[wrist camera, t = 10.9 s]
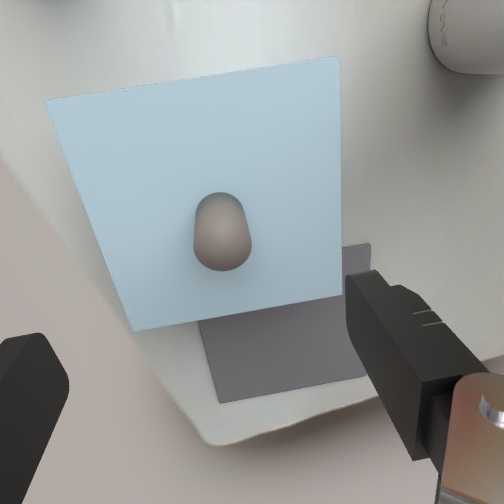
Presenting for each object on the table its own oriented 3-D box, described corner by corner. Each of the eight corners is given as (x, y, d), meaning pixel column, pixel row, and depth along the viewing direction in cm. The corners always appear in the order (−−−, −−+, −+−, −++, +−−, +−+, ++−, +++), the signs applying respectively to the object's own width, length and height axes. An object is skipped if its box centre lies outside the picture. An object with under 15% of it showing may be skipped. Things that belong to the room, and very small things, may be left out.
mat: (368, 243, 38) (370, 245, 38) (365, 372, 47) (366, 375, 47) (186, 275, 37) (186, 277, 37) (219, 400, 47) (219, 403, 46)
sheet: (335, 56, 22) (374, 52, 17) (339, 289, 31) (365, 333, 26) (48, 99, 21) (-1, 109, 16) (134, 326, 30) (119, 378, 25)
